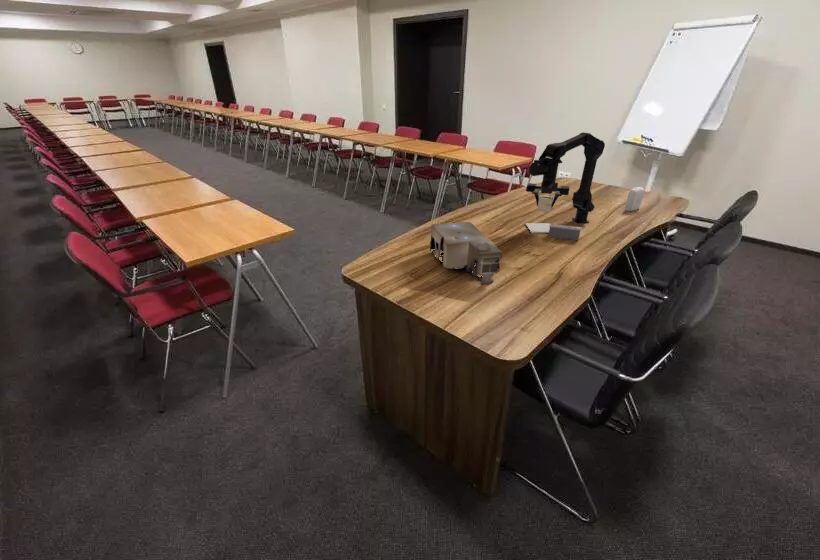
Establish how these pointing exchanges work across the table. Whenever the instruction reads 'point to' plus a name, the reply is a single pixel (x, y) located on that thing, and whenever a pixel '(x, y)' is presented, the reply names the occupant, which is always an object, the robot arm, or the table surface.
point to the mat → (538, 227)
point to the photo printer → (634, 199)
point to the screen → (564, 231)
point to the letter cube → (545, 203)
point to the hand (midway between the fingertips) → (544, 207)
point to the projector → (465, 249)
